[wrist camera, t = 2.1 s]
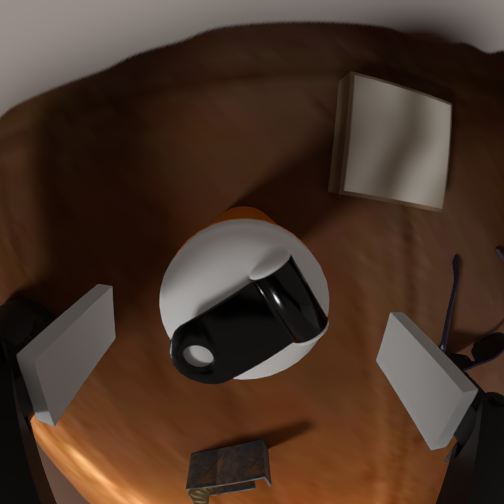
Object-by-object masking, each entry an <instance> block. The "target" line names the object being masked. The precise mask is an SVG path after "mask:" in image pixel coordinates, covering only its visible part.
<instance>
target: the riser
mask: <svg viewBox="0 0 504 504" xmlns="http://www.w3.org/2000/svg"><path fill="white" fill-rule="evenodd" d="M451 127H452V103H449V102H447V101H444V100H442V99H439V98H436V97H434V96H431V95H428V94H426V93H423V92H420V91H417V90H414V89H411V88H408V87H405V86H402V85H399V84H395V83H392V82H389V81H385V80H382V79H378V78H375V77H371V76H367V75H364V74H360V73H356V72H352V71H350V72H349V73H348V74H347V75H346V76H345V77H343V78H342V79H341V80H340V81H339V84H338V97H337V109H336V121H335V131H334V141H333V150H332V160H331V168H330V177H329V185H328V192H332V193H336V194H341V195H347V196H354V197H360V198H366V199H372V200H378V201H384V202H389V203H395V204H400V205H406V206H411V207H416V208H421V209H426V210H431V211H436V212H441V213H443V209H444V202H445V195H446V187H447V178H448V169H449V158H450V145H451Z"/></svg>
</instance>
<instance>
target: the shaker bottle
mask: <svg viewBox="0 0 504 504" xmlns="http://www.w3.org/2000/svg"><path fill="white" fill-rule="evenodd" d="M159 306H160V312H161V318H162V322H163V324H164V327H165V329H166V332H167V334H168V336H169V337H170V339H171V341H170V356H171V359H172V362H173V365H174V366H175V367H176V368H177V370H178V371H179V372H180V373H181V374H183V375H184V376H186V377H187V378H189V379H191V380H194V381H197V382H201V383H205V384H220V383H224V382H226V381H229V380H231V379H257V378H261V377H266V376H270V375H273V374H275V373H278V372H280V371H283V370H285V369H287V368H288V367H290V366H292V365H293V364H295V363H296V362H298V361H299V360H300V359H301V358H302V357H304V356H305V355H306V354H307V353H308V352H309V351H310V350H311V348H312V347H313V346H314V344H315V343H316V342H317V340H318V339H319V338H320V337H321V336H322V335H323V334H324V333H325V332H326V330H327V328H328V325H329V321H328V318H327V316H328V312H329V292H328V287H327V281H326V279H325V276H324V274H323V271H322V269H321V267H320V265H319V263H318V262H317V261H316V259H315V258H314V256H313V255H312V253H311V252H310V251H309V249H308V248H307V246H306V245H305V244H304V243H303V242H302V241H301V240H300V239H299V238H298V237H296V236H295V235H294V234H293V233H291V232H290V231H288V230H286V229H285V228H283V227H281V226H280V225H277V224H276V223H275V222H274V221H273V220H272V219H271V218H270V217H268V216H267V215H266V214H265V213H264V212H262V211H260V210H259V209H256V208H253V207H248V206H239V207H235V208H231V209H229V210H227V211H225V212H224V213H222V214H221V215H220V216H219V217H218V218H217V219H216V220H215V221H213V222H212V223H211V224H210V225H209V226H208V227H206V228H204V229H202V230H200V231H198V232H197V233H196V234H195V235H193V236H192V237H191V238H189V239H188V240H187V241H186V242H185V244H184V245H183V246H182V247H181V248H180V250H179V251H178V252H177V254H176V256H175V257H174V258H173V260H172V261H171V263H170V265H169V267H168V269H167V270H166V272H165V274H164V278H163V281H162V285H161V289H160V304H159Z"/></svg>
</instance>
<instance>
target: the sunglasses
mask: <svg viewBox="0 0 504 504" xmlns="http://www.w3.org/2000/svg"><path fill="white" fill-rule="evenodd" d="M496 253H497V254H498V255H499V256H500V258H501V259H502V260H503V261H504V255H503V254H502V252H501V251H500V250H499V248H496ZM452 264H453V271H454V284H453V290H452V294H451V298H450V302H449V306H448V310H447V315H446V320H445V325H444V330H443V336H442V341H441V347H440V350H441V351H442V352H443V353H444V354H445V351H446V343H447V336H448V330H449V324H450V318H451V312H452V307H453V303H454V299H455V295H456V291H457V285H458V276H459V269H458V257H457V256H456V255H455V257H454V259H453V262H452ZM503 351H504V334H503V333H500V332H496V333H493V334H491V335H489V336H487V337H485V338H484V339H482V340H481V342H480V343H479V344H476V345H474V347H473V348H472V351H471V352H472V356H473V358H474V360H475V361H471V360H470V358H469V357H468V356H466V355H461V354H455V353H450V355H446V356H447V357H448V358H449V359H451V360H452V361H454V362H456V363H457V364H459V365H460V366H461V368H462V369H463V370H464V371H466V370H468V369H471V368H473V367H475V366H478V365H481V364H483V363H486V362H489V361H491V360H493V359H495V358H496V357H498V356H499V355H500V354H501V353H502V352H503Z"/></svg>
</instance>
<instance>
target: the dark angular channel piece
mask: <svg viewBox="0 0 504 504" xmlns="http://www.w3.org/2000/svg"><path fill="white" fill-rule="evenodd" d="M263 478H264V479H265V481H266V482H267V484H268V485H269V486H271V476H270V465H269V454H268V448H267V446H266V444H265V443H264V441H263V439H260V440H256V441H252V442H248V443H244V444H239V445H235V446H230V447H225V448H220V449H215V450H209V451H204V452H198V453H191V459H190V466H189V472H188V479H187V486H186V490H187V491H188V492H189V493H188V495H189V497H190V498H191V500H192V502H193V504H209V497H210V496H213V495H221V494H228V493H234V492H240V491H246V490H252V489H255V480H258V479H263Z"/></svg>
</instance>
